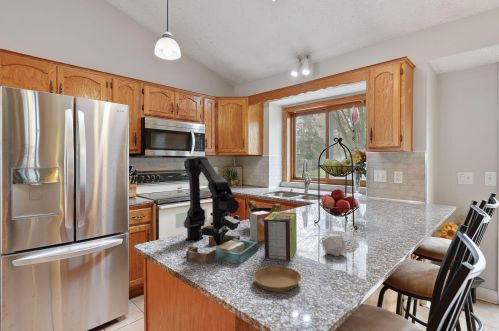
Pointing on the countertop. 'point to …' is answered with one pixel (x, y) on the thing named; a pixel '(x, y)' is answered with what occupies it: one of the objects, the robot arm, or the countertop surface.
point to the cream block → (231, 247)
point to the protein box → (280, 235)
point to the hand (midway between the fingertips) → (219, 247)
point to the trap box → (222, 252)
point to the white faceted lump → (334, 244)
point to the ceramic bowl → (262, 208)
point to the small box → (257, 225)
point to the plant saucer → (277, 278)
